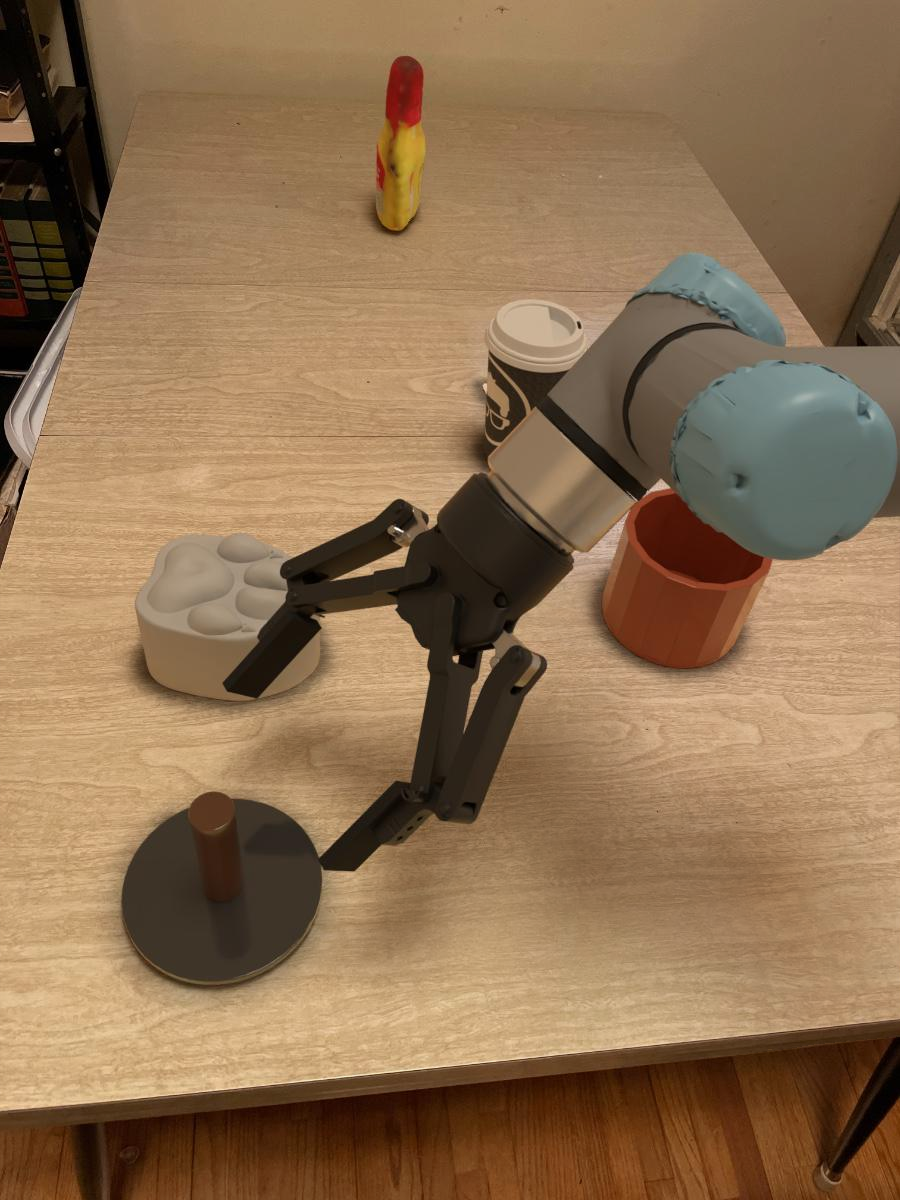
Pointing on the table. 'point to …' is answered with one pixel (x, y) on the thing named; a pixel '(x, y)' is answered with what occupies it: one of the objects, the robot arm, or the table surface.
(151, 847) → the lid
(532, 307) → the coffee cup
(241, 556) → the lumpy-topped squat cylinder
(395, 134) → the bottle
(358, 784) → the table surface
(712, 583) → the pot
